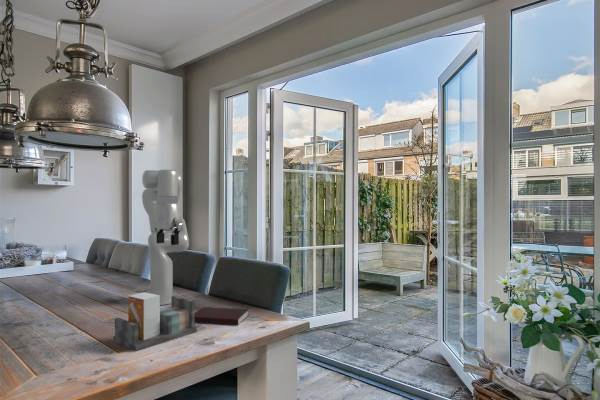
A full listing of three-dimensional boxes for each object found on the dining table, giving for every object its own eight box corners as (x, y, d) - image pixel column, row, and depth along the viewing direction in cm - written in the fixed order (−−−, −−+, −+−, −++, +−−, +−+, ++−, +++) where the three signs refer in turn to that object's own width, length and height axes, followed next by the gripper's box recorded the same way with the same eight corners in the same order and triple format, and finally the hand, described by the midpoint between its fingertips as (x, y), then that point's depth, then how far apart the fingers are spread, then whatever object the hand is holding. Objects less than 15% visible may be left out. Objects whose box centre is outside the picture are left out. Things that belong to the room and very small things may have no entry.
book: (238, 327, 139) (238, 318, 139) (189, 323, 143) (189, 314, 143) (249, 316, 151) (249, 308, 151) (204, 314, 155) (204, 305, 155)
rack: (113, 340, 124) (113, 308, 124) (172, 323, 141) (172, 295, 141) (136, 351, 115) (136, 316, 115) (196, 331, 133) (196, 301, 133)
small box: (127, 335, 124) (127, 295, 124) (144, 330, 129) (144, 291, 129) (143, 340, 120) (143, 299, 120) (160, 334, 125) (160, 294, 125)
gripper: (146, 200, 154) (146, 243, 154) (172, 200, 144) (172, 246, 144) (163, 200, 160) (163, 241, 160) (188, 200, 150) (188, 244, 150)
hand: (167, 243), depth 152 cm, fingers open, 9 cm apart
